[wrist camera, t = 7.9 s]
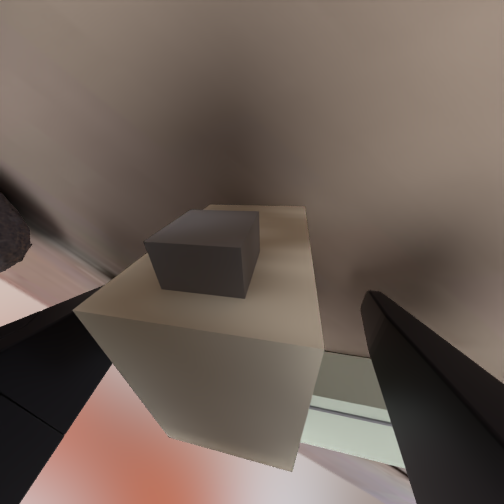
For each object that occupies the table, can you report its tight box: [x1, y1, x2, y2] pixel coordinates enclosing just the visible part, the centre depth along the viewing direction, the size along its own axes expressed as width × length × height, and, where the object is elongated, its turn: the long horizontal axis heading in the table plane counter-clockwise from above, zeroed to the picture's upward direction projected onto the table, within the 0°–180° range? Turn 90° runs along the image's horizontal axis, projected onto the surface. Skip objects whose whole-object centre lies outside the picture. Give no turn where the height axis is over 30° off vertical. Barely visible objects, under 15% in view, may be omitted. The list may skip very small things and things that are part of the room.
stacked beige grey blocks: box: [73, 205, 325, 472], centre depth 7 cm, size 4×8×6 cm, turn 2°
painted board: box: [300, 351, 406, 469], centre depth 12 cm, size 16×7×3 cm, turn 92°
